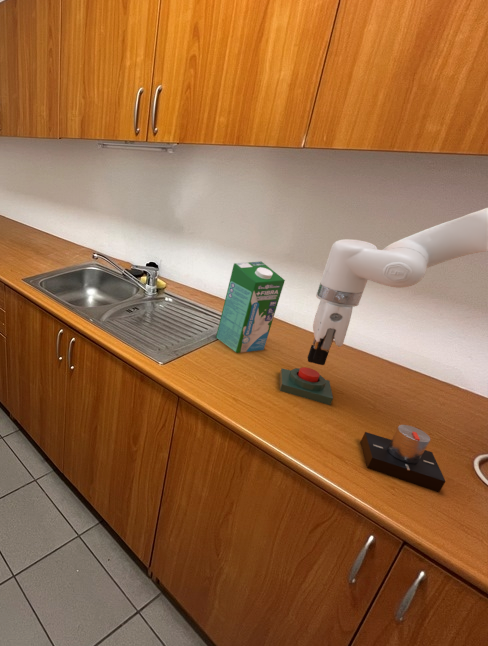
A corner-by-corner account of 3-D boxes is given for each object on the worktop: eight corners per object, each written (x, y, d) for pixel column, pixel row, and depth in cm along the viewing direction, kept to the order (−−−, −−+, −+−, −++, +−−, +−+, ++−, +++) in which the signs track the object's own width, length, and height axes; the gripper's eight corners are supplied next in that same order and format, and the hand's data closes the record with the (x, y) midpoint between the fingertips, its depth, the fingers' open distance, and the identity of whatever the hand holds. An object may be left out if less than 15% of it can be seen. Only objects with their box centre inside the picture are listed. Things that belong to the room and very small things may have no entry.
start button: (317, 376, 99) (319, 370, 98) (318, 384, 96) (320, 378, 95) (297, 371, 101) (299, 365, 101) (298, 379, 98) (300, 373, 97)
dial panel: (425, 462, 79) (432, 450, 78) (439, 494, 72) (446, 482, 71) (359, 441, 84) (365, 430, 83) (367, 469, 78) (373, 457, 76)
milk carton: (236, 353, 115) (258, 274, 106) (215, 337, 123) (233, 262, 114) (264, 350, 116) (287, 272, 107) (241, 334, 125) (261, 260, 115)
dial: (384, 442, 80) (395, 420, 78) (414, 451, 78) (427, 429, 75) (390, 457, 77) (401, 434, 74) (421, 467, 74) (434, 444, 72)
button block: (326, 387, 101) (331, 374, 99) (330, 405, 94) (335, 392, 93) (279, 374, 106) (283, 362, 104) (279, 391, 100) (284, 378, 98)
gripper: (366, 310, 82) (339, 383, 89) (355, 286, 93) (331, 352, 100) (320, 302, 86) (297, 372, 93) (315, 280, 97) (295, 344, 104)
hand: (315, 361), depth 96 cm, fingers closed
